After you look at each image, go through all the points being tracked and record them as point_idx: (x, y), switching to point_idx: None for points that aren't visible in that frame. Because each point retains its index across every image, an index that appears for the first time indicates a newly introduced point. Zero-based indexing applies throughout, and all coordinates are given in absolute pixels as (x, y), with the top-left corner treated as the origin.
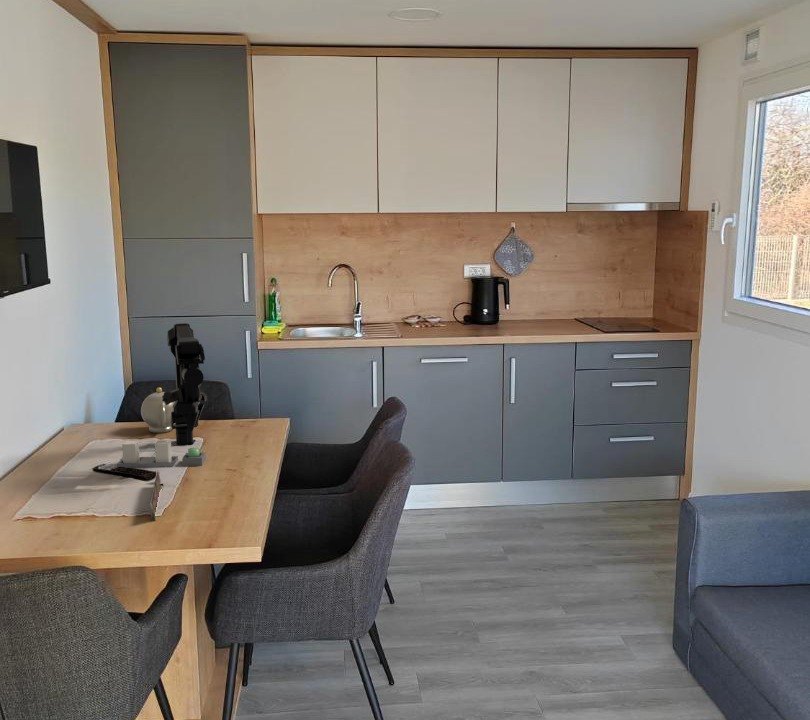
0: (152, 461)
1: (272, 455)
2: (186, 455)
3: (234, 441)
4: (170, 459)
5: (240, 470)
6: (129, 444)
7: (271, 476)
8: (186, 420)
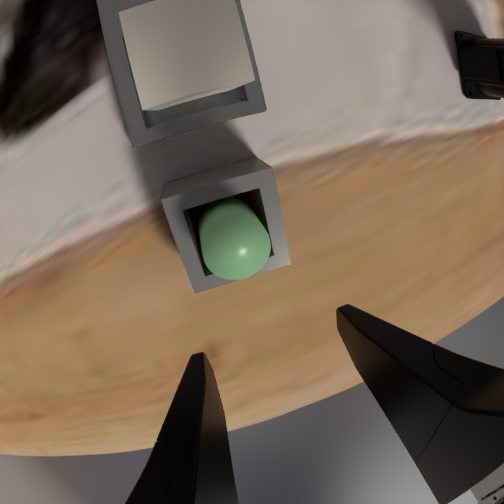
0: None
1: None
2: (219, 194)
3: (489, 218)
4: (201, 97)
5: None
6: None
7: None
8: (151, 463)
